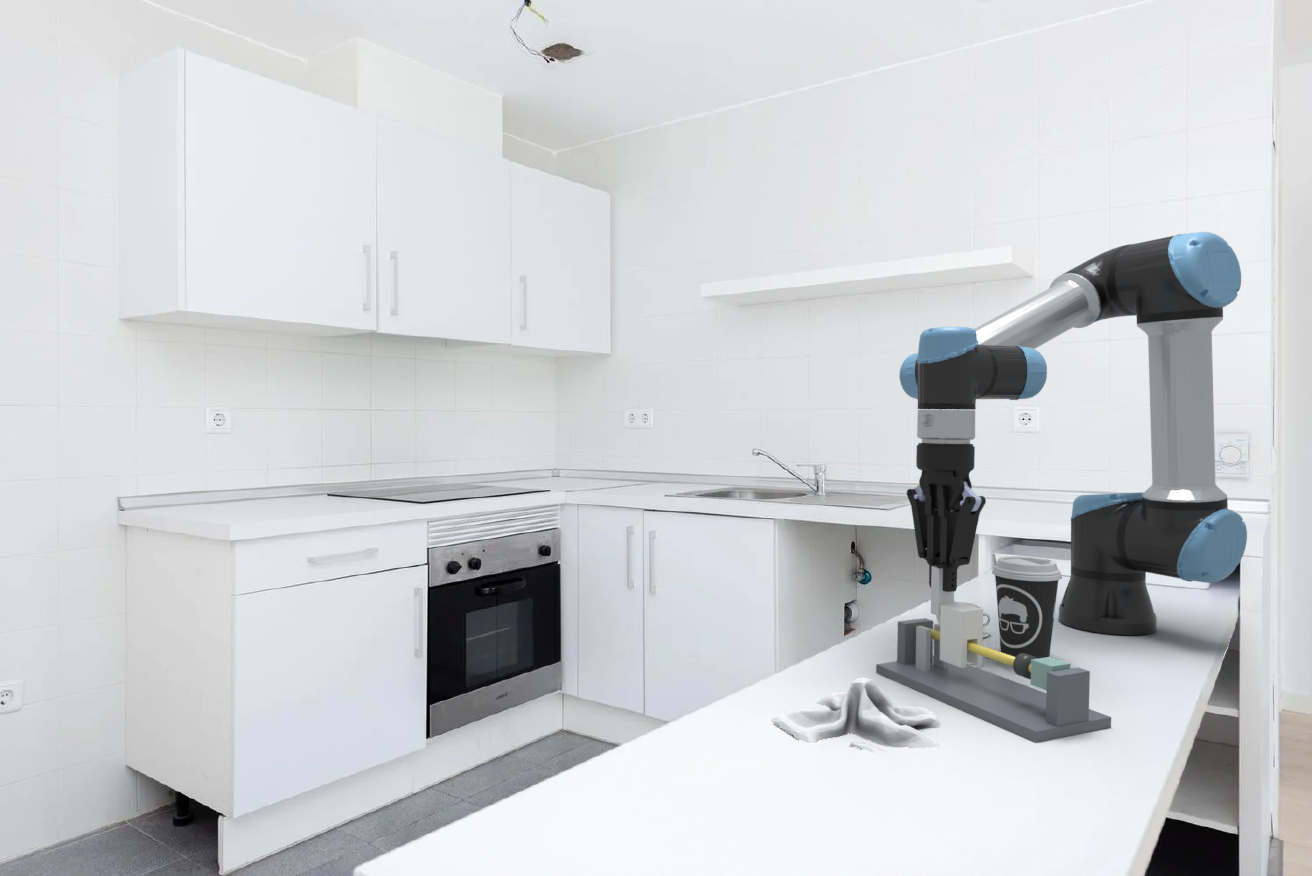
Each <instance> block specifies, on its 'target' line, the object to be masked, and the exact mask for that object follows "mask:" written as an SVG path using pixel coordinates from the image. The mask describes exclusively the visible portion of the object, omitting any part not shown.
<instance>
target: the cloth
mask: <svg viewBox="0 0 1312 876" xmlns="http://www.w3.org/2000/svg"><path fill="white" fill-rule="evenodd" d="M815 703H816V704H817V705H820V706H824V705H825V706H824V707H826V706H827V707H826V708H828V707H829V708H828V709H822V708H821V709H819V708H815V709H814V708H802V709H797V710H791V711H787V712H784V713H782V714H779V715H776V716H774V717H773V718H771V721H772V722H773V723H774V724H775V725H774V724H773V725H774V726H776V725H777V726H776V727H778V726H779V727H781V728H782V729H783V730H785V731H786V732H785V731H784V732H785V733H786V734H788V733H790V734H791V735H790V734H789V735H790V736H792V735H793V736H794V737H795V738H794V737H793V736H792V737H793V738H794V739H795V740H797V739H798V740H802V741H805V742H807V743H817V742H818V741H819V740H823V739H825V740H828V739H827V738H830V739H834V738H833V737H835V738H840V736H841V737H844V736H846V735H855V736H856V737H857V736H858V737H860V738H862V739H863V740H866V741H868V740H870V741H869V742H872V743H873V744H877V745H880V746H883V747H889V748H905V747H909V748H908V749H912V748H919V749H931V747H932V748H933V747H936V748H941V745H940V743H939V742H938V741H936V740H935V739H933V738H932V737H930V736H928V735H926V734H925V733H924V732H921V731H919V730H918V729H916V728H919V729H921V728H925V729H939V728H940V727H941V722H940V719H939V717H938V716H937V715H936V714H935V713H934V712H933V711H931V710H929V709H927V708H925V707H920V706H919V707H918V706H914V705H913V706H911V705H909V706H902V705H901V706H897V705H893V702H892V699H890V697H889V696H888V694H887V693H886V692H885V691H884V690H883V689H882V688H881V687H880V686H879V685H878V684H877V683H876V682H875V680H874V679H872V678H867V677H863V676H862V677H857V678H855V679H854V680H853V681H852V683H851V684H850V687H849V688H848V690H847V691H845V692H832V693H828V694H826V695H824V696H822V697H820V698H819V699H816V701H815ZM779 727H778V728H779ZM782 729H781V730H782ZM783 730H782V731H783ZM848 733H849V734H848ZM851 733H852V734H851ZM843 735H844V736H843ZM798 740H797V741H798ZM823 741H824V740H823ZM850 743H851V744H850ZM850 743H849V745H850V746H848V747H850V748H853V747H857V748H856V749H858V748H860V749H859V750H862V749H865V750H869V751H868V752H870V751H871V753H887V750H883V749H881V748H880V747H877V746H875V745H873V744H870V743H866V742H860V741H853V742H850ZM926 747H928V748H926ZM933 749H934V748H933ZM865 750H864V751H865Z"/></svg>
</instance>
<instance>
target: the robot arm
mask: <svg viewBox="0 0 1312 876" xmlns="http://www.w3.org/2000/svg"><path fill="white" fill-rule="evenodd" d="M1241 270H1242V269H1241V266H1240V261H1239V259H1238V257H1237V255H1236V253H1235V251H1234V249H1233V248H1232V246H1230V245H1229V243H1228V241H1227V240H1226V239H1224V238H1223V237H1221V236H1220V235H1218V234H1216V233H1214V232H1211V231H1210V232H1209V231H1200V232H1189V233H1185V232H1184V233H1179V234H1175V235H1171V236H1166V237H1162V238H1156V239H1152V240H1146V241H1142V242H1137V243H1133V244H1131V243H1129V244H1125V245H1121V246H1118V247H1114V248H1111V249H1109V250H1106V251H1104V252H1102V253H1100V254H1098V255H1096V256H1094V257H1092V258H1090V259H1088V260H1086V261H1084V262H1082V263H1081V264H1078V265H1077V266H1074V267H1073V268H1072V269H1070V270H1068V271H1065V272H1064V273H1062V274H1060V275H1058V276H1057V277H1056V278H1055V279H1053V280H1052V282H1050V285H1049V288H1047V289H1046V290H1044V291H1042V292H1040V293H1038V294H1036V295H1034V296H1032V297H1031V298H1028V299H1027V300H1025V301H1024V302H1022V303H1019V304H1018V305H1016V306H1014V307H1011V308H1010V309H1008V310H1006V311H1005V312H1003V313H1000V314H999V315H997V316H996V317H994V318H991V319H989V320H988V321H986V322H984V323H982V324H981V325H978V326H977V327H975V328H972V327H969V326H968V327H966V326H938V327H930V328H927V329H924V330H923V331H922V332H921V333H920V336H919V341H918V348H917V349H918V350H917V352H914V353H912V354H910V355H908V356H907V357H906V358H905V359H904V360H903V361H902V363H901V366H900V369H899V376H898V377H899V382H900V386H901V388H902V390H903V391H904V393H905V394H906V395H907V396H908V397H910V398H912V399H916V400H917V424H916V425H917V427H916V431H917V432H916V438H918V439H920V440H921V442H918V443H917V445H916V455H915V456H916V464H915V466H916V468H917V470H921V475H920V478H919V479H918V481H919V482H918V483H919V484H918V485H917V486H916V487H915V488H907V491H906V496H907V498H908V501H909V503H910V509H911V514H912V521H913V528H914V535H915V542H916V543H915V544H916V550H917V555H918V557H919V558H920V559H924V560H925V561H926V563H927V564H928V568H929V570H928V572H929V573H928V576H929V577H928V585H929V587H930V614H931V615H933V616H936V615H937V616H941V605H947V604H954V601H955V592H956V591H957V587H958V584H957V583H958V569H959V567H961V566H962V567H963V566H966V565H969V564H970V563H971V559H972V558H971V557H972V553H973V547H974V544H975V539H976V534H977V527H978V522H979V518H980V514H981V511H982V510H983V508H984V507H985V505H986V502H987V500H986V498H985V496H984V495H977V494H976V493H975V492H974V491H973V490H972V485H973V484H972V482H971V478H970V473H971V472H972V471H973V470H975V451H976V449H975V448H976V447H975V446H974V444H973V443H971V441H972V440H974V439H975V438H976V407H977V406H976V405H977V404H976V403H977V400H1009V401H1019V400H1026V399H1031V398H1033V397H1035V396H1037V395H1038V394H1039V393H1040V392H1041V391H1042V389H1043V388H1044V387H1045V385H1046V382H1047V378H1048V377H1047V376H1048V375H1047V373H1048V371H1047V370H1048V366H1047V362H1046V359H1045V358H1044V356H1043V355H1042V353H1041V352H1039V350H1037V348H1039V347H1041V346H1042V345H1044V344H1046V343H1048V342H1049V341H1051V340H1053V339H1055V338H1057V337H1059V336H1060V335H1063V334H1064V333H1066V332H1068V331H1069V330H1072V329H1073V328H1075V329H1083V328H1086V327H1089V326H1091V325H1092V324H1094V323H1095V322H1098V321H1102V320H1107V319H1113V318H1120V317H1129V316H1131V317H1132V316H1134V317H1135V316H1136V327H1137V328H1138V329H1140V330H1141V331H1143V332H1144V333H1145V334H1146V335H1147V346H1148V347H1147V348H1148V377H1149V379H1148V381H1149V413H1150V416H1149V417H1150V445H1151V446H1150V449H1151V450H1150V451H1151V477H1152V478H1151V479H1152V480H1151V481H1152V483H1151V486H1149V487H1148V488H1147V489H1146V490H1145V491H1144V492H1143V491H1142V492H1120V493H1101V494H1099V493H1098V494H1081V495H1079V496H1077V497H1075V499H1074V500H1073V502H1072V510H1071V511H1072V512H1071V516H1070V579H1069V580H1068V582H1067V586H1066V588H1065V592H1064V594H1063V598H1062V599H1061V603H1060V604H1059V606H1058V621H1059V622H1060V623H1062V624H1063V625H1066V626H1067V627H1071V628H1075V629H1079V630H1083V631H1086V632H1088V631H1089V632H1093V633H1099V634H1100V633H1101V634H1109V635H1110V634H1111V635H1117V636H1118V635H1119V636H1121V635H1122V636H1142V635H1149V634H1152V633H1155V632H1156V631H1157V622H1158V621H1157V614H1156V613H1155V610H1154V606H1153V604H1152V600H1151V596H1150V594H1149V591H1148V588H1147V581H1146V580H1147V579H1146V577H1147V575H1146V574H1149V573H1150V574H1152V575H1153V574H1155V575H1158V576H1159V575H1160V576H1164V577H1170V578H1173V579H1174V578H1176V579H1181V580H1182V581H1185V582H1200V583H1206V584H1207V583H1208V584H1212V583H1217V582H1220V581H1223V580H1225V579H1226V578H1228V577H1229V576H1230V575H1231V574H1232V573H1233V572H1234V571H1235V570H1236V568H1237V566H1238V565H1239V564H1240V562H1241V560H1242V559H1243V556H1244V554H1245V552H1246V551H1245V550H1246V547H1247V541H1248V530H1247V525H1246V523H1245V521H1243V517H1242V515H1240V514H1239V513H1238V512H1236V511H1234V510H1233V509H1229V508H1228V505H1229V504H1228V494H1227V493H1225V492H1224V491H1223V490H1222V489H1221V488H1220V487H1219V486H1217V484H1216V457H1215V456H1216V455H1215V454H1216V452H1215V415H1214V414H1215V411H1214V406H1215V405H1214V377H1213V376H1214V375H1213V374H1214V373H1213V371H1214V369H1213V367H1214V366H1213V335H1212V334H1213V333H1212V332H1213V331H1214V329H1215V328H1216V327H1217V326H1218V325H1219V324H1220V323H1221V322H1222V321H1223V320H1224V308H1226V307H1227V306H1228V305H1230V304H1231V303H1233V302H1234V301H1235V300H1236V299H1237V297H1238V292H1239V291H1240V290H1241V286H1242V271H1241Z"/></svg>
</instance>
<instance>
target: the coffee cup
mask: <svg viewBox="0 0 1312 876" xmlns="http://www.w3.org/2000/svg"><path fill="white" fill-rule="evenodd" d="M991 574H992V575H994V578H995V579H994V580H995V590H996V603H997V604H996V605H997V616H998V620H997V621H998V631H999V633H998V634H999V648H1000V652H1002V653H1005V654H1008V655H1011V656H1014V657H1016V656H1017V655H1018V654H1020V653H1025V654H1028V655H1031V656H1035V657H1037V658H1038V659H1039V658H1045V657H1051V655H1050V653H1051V645H1052V639H1053V638H1052V636H1053V629H1054V621H1055V611H1056V603H1057V597H1058V596H1057V593H1058V587H1059V580H1062V579H1063V576H1062V572H1061V571H1060V569H1059V568H1058V565H1057V562H1055V561H1054V560H1051V559H1046V558H1040V557H1033V556H1032V557H1031V556H1017V555H1016V556H1002V557H999V558H998V559H997V562H996V564H995V565H994V566H993V567H992V571H991Z"/></svg>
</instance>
